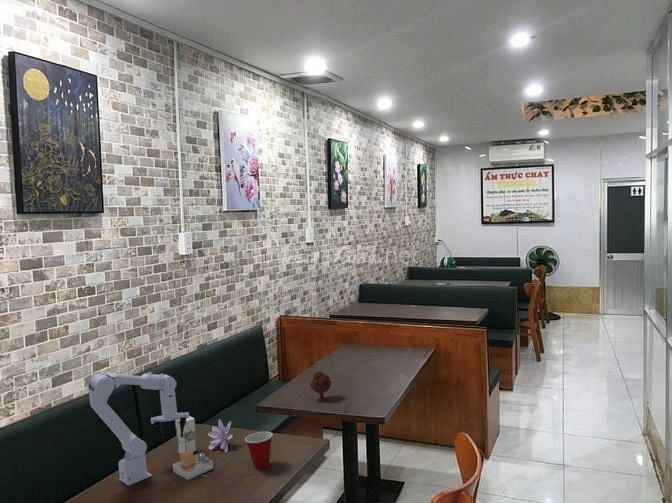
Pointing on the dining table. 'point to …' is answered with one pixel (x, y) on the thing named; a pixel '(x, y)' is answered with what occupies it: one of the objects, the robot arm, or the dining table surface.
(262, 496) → the dining table surface
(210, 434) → the water lily
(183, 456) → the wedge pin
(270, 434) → the plastic cup
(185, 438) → the syrup box
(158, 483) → the dining table surface
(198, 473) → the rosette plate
